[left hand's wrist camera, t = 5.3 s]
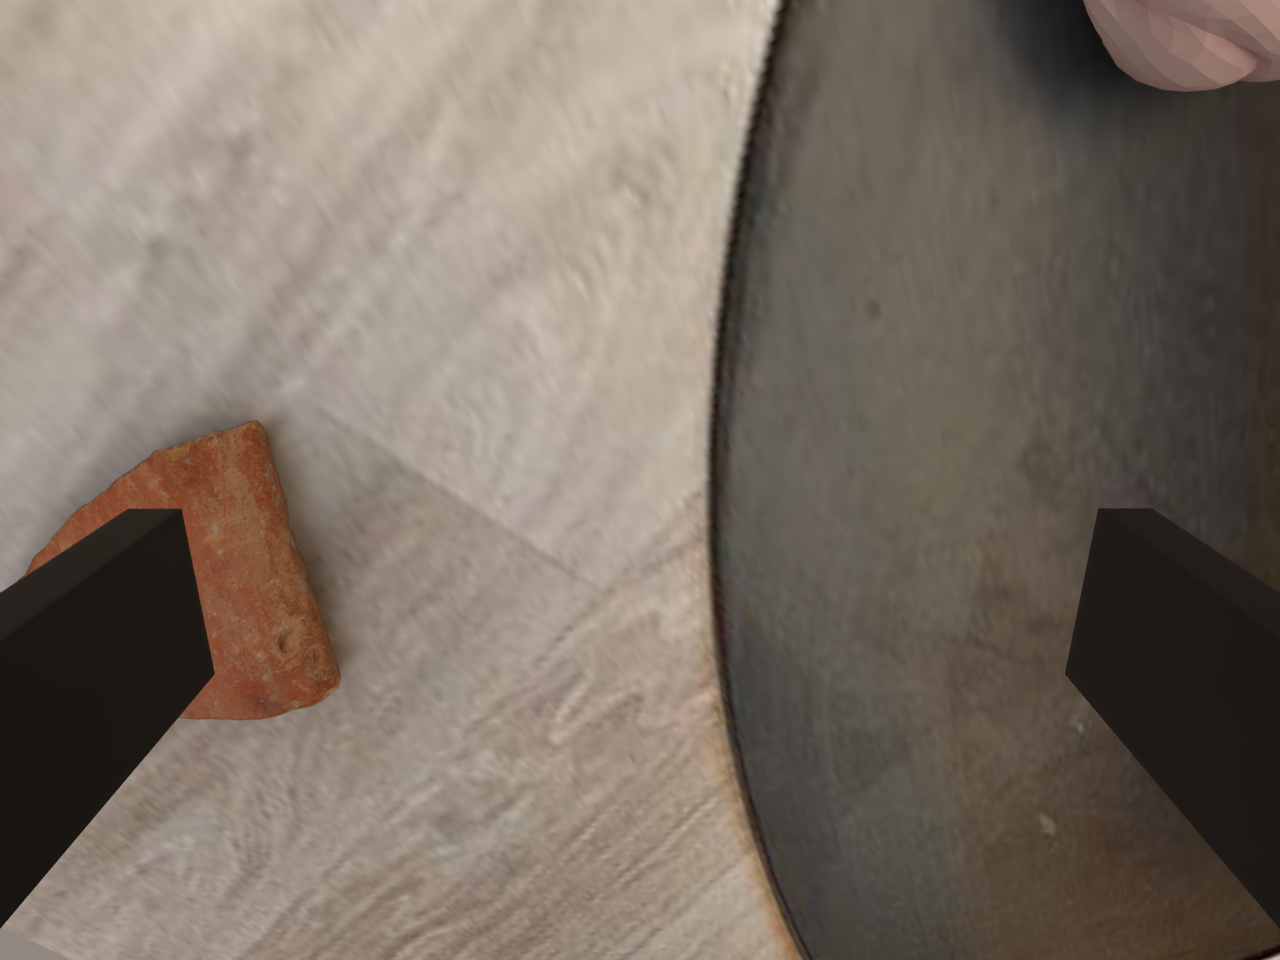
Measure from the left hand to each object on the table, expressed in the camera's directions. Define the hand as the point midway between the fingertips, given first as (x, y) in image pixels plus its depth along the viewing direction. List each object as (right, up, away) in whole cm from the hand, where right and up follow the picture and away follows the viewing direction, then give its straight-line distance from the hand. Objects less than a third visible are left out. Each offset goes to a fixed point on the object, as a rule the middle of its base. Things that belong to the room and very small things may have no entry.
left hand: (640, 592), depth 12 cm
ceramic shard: (-24, -3, +31) cm, 39 cm away
